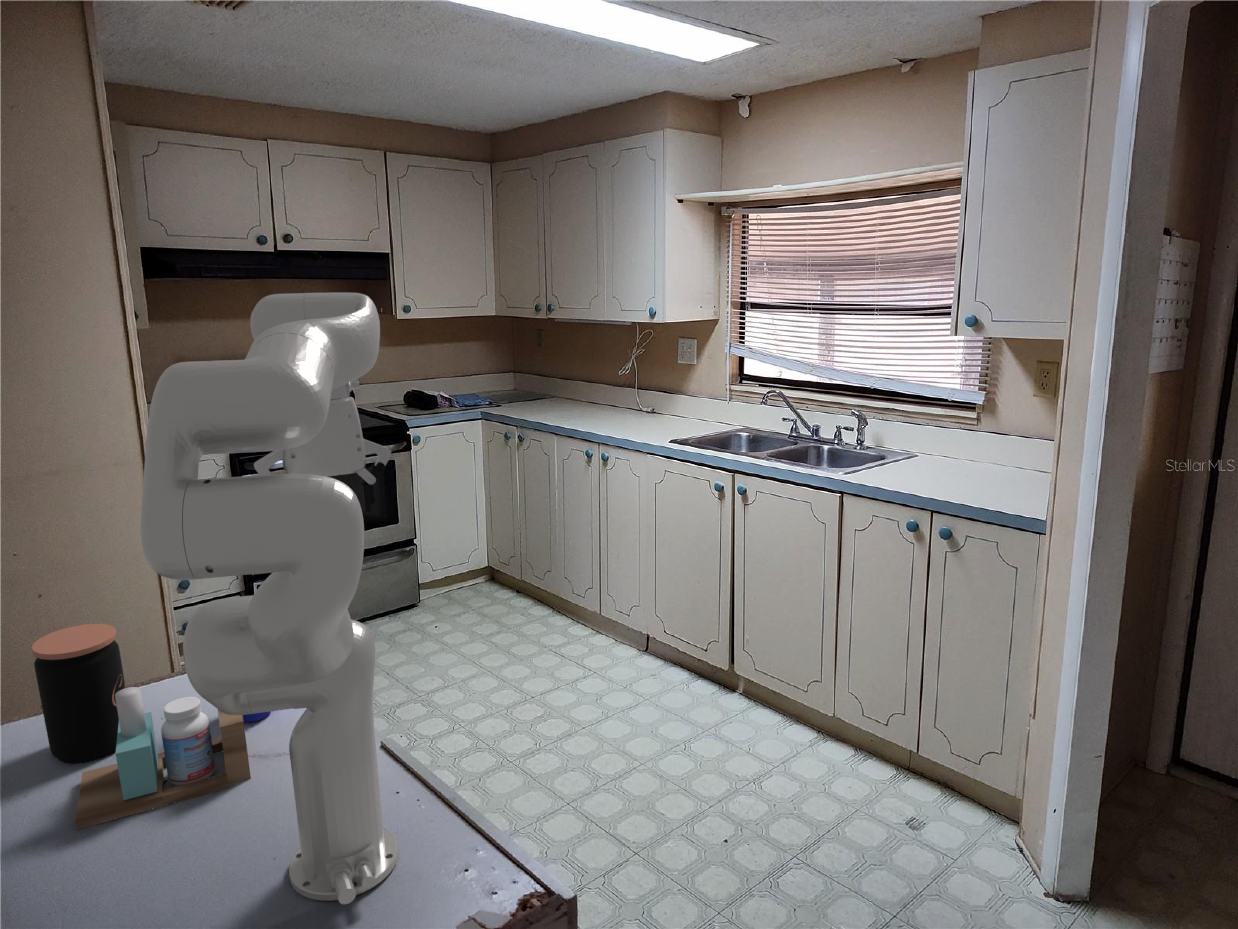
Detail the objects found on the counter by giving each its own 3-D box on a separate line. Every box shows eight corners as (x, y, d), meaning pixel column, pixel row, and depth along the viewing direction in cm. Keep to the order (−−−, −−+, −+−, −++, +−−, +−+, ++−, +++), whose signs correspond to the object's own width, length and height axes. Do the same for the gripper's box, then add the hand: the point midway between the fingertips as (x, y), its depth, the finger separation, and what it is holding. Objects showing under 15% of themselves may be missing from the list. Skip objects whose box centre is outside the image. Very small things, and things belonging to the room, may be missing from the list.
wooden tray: (251, 782, 117) (244, 724, 115) (76, 829, 107) (65, 768, 105) (244, 741, 127) (237, 688, 125) (84, 781, 118) (74, 724, 115)
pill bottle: (196, 790, 115) (185, 717, 113) (158, 785, 116) (147, 713, 114) (225, 765, 121) (215, 696, 118) (189, 761, 122) (178, 692, 120)
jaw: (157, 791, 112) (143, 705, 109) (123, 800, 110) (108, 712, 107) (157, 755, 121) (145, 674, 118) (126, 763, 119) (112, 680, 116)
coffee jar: (136, 751, 125) (118, 641, 121) (52, 775, 119) (30, 661, 115) (130, 721, 134) (113, 617, 129) (51, 742, 128) (31, 634, 124)
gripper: (378, 382, 114) (388, 501, 118) (243, 392, 106) (258, 519, 110) (391, 388, 108) (401, 513, 112) (248, 399, 100) (264, 534, 104)
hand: (330, 516), depth 111 cm, fingers open, 9 cm apart
